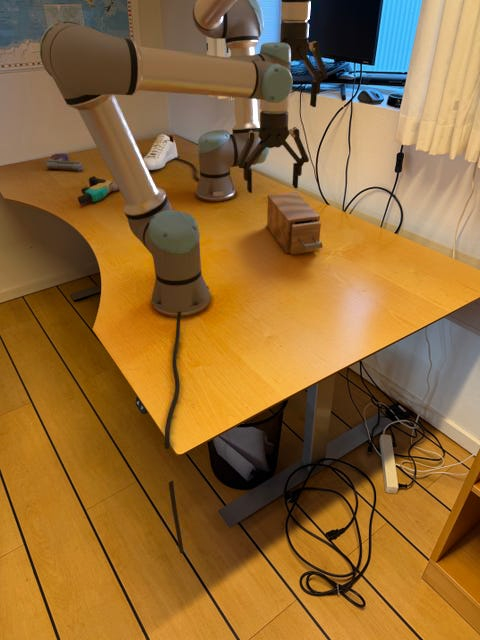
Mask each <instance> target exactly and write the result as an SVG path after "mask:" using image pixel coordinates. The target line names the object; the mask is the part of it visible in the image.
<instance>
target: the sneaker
mask: <svg viewBox="0 0 480 640" xmlns="http://www.w3.org/2000/svg"><path fill="white" fill-rule="evenodd" d="M178 156H179V155H178V149H177V144H176V140H175V136H174V135H173V134H164V133H161V134H158V135H157V137H156V139H155V140H154V142H153V143H152V146H151V148H150V150H149V151H148V153H147V154H146V155H145V156H144V157H143V159H144V162H145V164H146V166H147V168H148V170H149V171H156V170H160V169H162V168H164V167H165V166H166V164H167V163H168V162H170V161H172V160H175V159H174V158H175V157H176V158H178Z"/></svg>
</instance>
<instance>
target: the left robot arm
mask: <svg viewBox="0 0 480 640" xmlns="http://www.w3.org/2000/svg"><path fill="white" fill-rule="evenodd" d="M259 49H260V50H259V53H257V54H256V53H255V55H245V56H232V57H231V55H229V56H218V55H212V54H202V53H195V52H194V53H193V52H187V51H177V50H169V49H162V48H154V47H145V46H138V45H137V43H136V42H135V40H133V39H130V38H122V37H117V36H114V35H110V34H107V33H104V32H102V31H100V30H99V31H98V30H96V29H94V28H91V27H89V26H85V25H82V24H80V23H78V22H75V21H70V20H63V21H60V22H56V23H54V24H52V25H50V26H49V27H47V28H46V30H45V31H44V33H43V34H42V36H41V38H40V42H39V57H40V62H41V64H42V66H43V68H44V70H45V72H46V73H47V74H48V75H49V76H50V77H52V79H53V81H54V83H55V85H56V87H57V88H58V90H59V92H60V94H61V96H62V98H63V100H64V102H65V103H66V105H67V106H68V107H70V108H73V109H75V110H77V111H78V114H79V115H80V117H81V119H82V121H83V123H84V125H85V127H86V129H87V131H88V133H89V135H90V137H91V138H92V140H93V142H94V145H95V146H96V148H97V150H98V152H99V154H100V155H101V157H102V160H103V162H104V163H105V165H106V167H107V169H108V171H109V173H110V175H111V177H112V178H113V181H114V183H116V184H117V186H118V188H119V189H118V191H119V192H120V194H121V196H122V198H123V200H124V204H123V206H122V211H123V213H124V215H125V217H126V219H127V223H128V226H129V229H130V231H131V232H132V234H133V236H134V237H135V238H136V239H138V240H139V241H140V243H141V244H142V245H143V246H144V247H145V249H146V250H147V251H148V252H149V253H150V254H151V256H152V260H153V261H152V262H153V268H154V274H155V275H154V276H155V281H154V284H153V290H152V294H151V305H152V308H153V310H154V311H155V312H156V313H157V314H159V315H160V316H163V317H167V318H171V319H176V328H175V340H174V346H173V351H172V372H173V376H174V382H175V383H174V388H175V389H174V395H173V398H172V401H171V403H170V406H169V409H168V412H167V416H166V422H165V427H164V449H165V450H168V449H170V447H171V446H170V445H171V443H170V442H171V441H170V440H171V437H170V436H171V424H172V418H173V414H174V411H175V408H176V405H177V402H178V399H179V394H180V376H179V372H178V366H177V365H178V364H177V359H178V358H177V356H178V350H179V345H180V344H179V343H180V335H181V320H182V319H183V318H185V319H186V318H190V317H194V316H196V315H199V314H201V313H202V312H204V311H205V310H207V308H208V307H209V306H210V303H211V294H210V293H211V292H210V288H209V286H208V285H207V284H206V281H205V278H204V277H203V275H202V262H201V261H202V259H201V243H200V242H201V241H200V239H201V236H200V235H201V234H200V230H199V226H198V222H197V220H196V218H194V216H193V215H192V214H190V213H188V212H186V211H182V212H181V210H177V209H176V210H174V209H173V206H172V205H171V203H170V200H169V198H168V196H167V194H166V191H165V190H164V189H162V188H160V187H157V186H156V183H155V181H154V179H153V177H152V174H151V172H150V170H148V168H147V166H146V164H145V162H144V159H143V158H144V157H143V155H142V152H141V150H140V148H139V146H138V144H137V142H136V139H135V138H134V135H133V133H132V130H131V129H130V126H129V125H128V121H126V118H125V116H124V114H123V111H122V109H121V107H120V105H119V102H118V100H117V98H116V95H117V96H135V94H136V93H137V92H138V91H143V92H144V91H145V92H156V93H157V92H158V93H171V94H186V95H198V96H199V95H201V96H214V97H227V98H228V97H230V98H234V97H240V98H249V99H258V100H259V109H260V110H261V111H260V112H259V122H260V130H259V132H252V131H251V130H250V131H249V132H248V139H247V141H246V144H245V146H244V148H243V150H242V152H241V155H240V157H239V159H238V161H237V165H238V166H237V167H238V168H239V169H243V179H244V181H246V190H247V191H248V193H249V194H252V193H253V170H252V168H251V167H252V166H253V165H252V164H253V163H254V162H255V160H256V159H257V158H258V156H259V155H260V154H261V152H262V151H263V150H265V148H266V147H268V148H269V149H274V148H276V149H277V148H281V147H283V148H284V149H285V150H286V151H287V152H288V153H289V155H290V156H291V158H293V160H294V161H295V162H293V163H292V164H293V166H292V184H291V185H292V187H293V188H294V189H298V188H299V177H301V176H302V172H303V166H304V165H305V163H309V161H310V159H309V156H308V154H307V151H306V149H305V147H304V143H303V142H302V140H301V135H300V130H299V128H298V127H296V126H294V127H292V128H289V111H288V110H289V108H290V93H291V91H292V89H293V75H292V73H291V69H292V68H291V66H292V62H291V50H290V46H289V45H288V44H287V43H280V41H279V42H278V41H277V42H265V43H262V44H260V47H259ZM289 136H290V137H292V138H293V140H294V144H295V145H296V147H297V150H298V152H299V154H300V156H301V157H299V156H298V154H297V153H296V152H295V150H294V149H293V148H292V146H290V144H289V143H288V142H287V140H288V137H289ZM257 137H259V138H260V139H261V141H260V142H259V143H258V145H257V147H256V148H255V149H254V151H253V152H252V153H251V155H250V156H249V157H248V159H247V160H246V158H247V156H248V154H249V152H250V150H251V147H252V145H253V142H254V140H256V138H257ZM174 485H175V484H174V480H171V481H169V482H168V487H169V488H168V489H169V490H168V491H169V497H170V503H171V504H170V505H171V510H172V515H173V522H174V527H175V532H176V538H177V543H178V550H179V553H180V554H183V553H184V545H183V539H182V538H183V537H182V532H181V525H180V520H179V515H178V509H177V502H176V493H175V486H174Z"/></svg>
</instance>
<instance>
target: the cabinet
mask: <svg viewBox="0 0 480 640" xmlns="http://www.w3.org/2000/svg"><path fill="white" fill-rule="evenodd" d="M266 215H267V216H266V220H267V221H266V227H267V229H268V230H269V231H270V233H271V234H272V235H273V237H274V238H275V239H276V241H277V242H278V244H279V245H280V246H281V248H282V249H283V251H284V252H285V253H286V254H291V253H290V230H291V222H299V221H308V220H315V222H319V221H320V219H321V216H320V215H319V214H318V213H317V212H316V210H315V209H313V208H312V206H311V205H309V203H308V202H306V200H305V199H304V198H303V197H302V196H301V195H300V194H299V193H298V192H297V191H295V192H294V191H293V192H286V193H285V192H284V193H275V194H268V195H267V213H266Z"/></svg>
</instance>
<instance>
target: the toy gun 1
mask: <svg viewBox="0 0 480 640" xmlns="http://www.w3.org/2000/svg"><path fill="white" fill-rule="evenodd" d="M83 164H84V163H82V162H80V161H71V160H70V161H69V154H68V153H67V152H60V153H55V154H52V155H51V156H50V159H46V162H45V164H44V166H45V167H46V168H47V169H49V170H62V171H63V170H64V171H65V170H67V171H82V168H84V165H83Z"/></svg>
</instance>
